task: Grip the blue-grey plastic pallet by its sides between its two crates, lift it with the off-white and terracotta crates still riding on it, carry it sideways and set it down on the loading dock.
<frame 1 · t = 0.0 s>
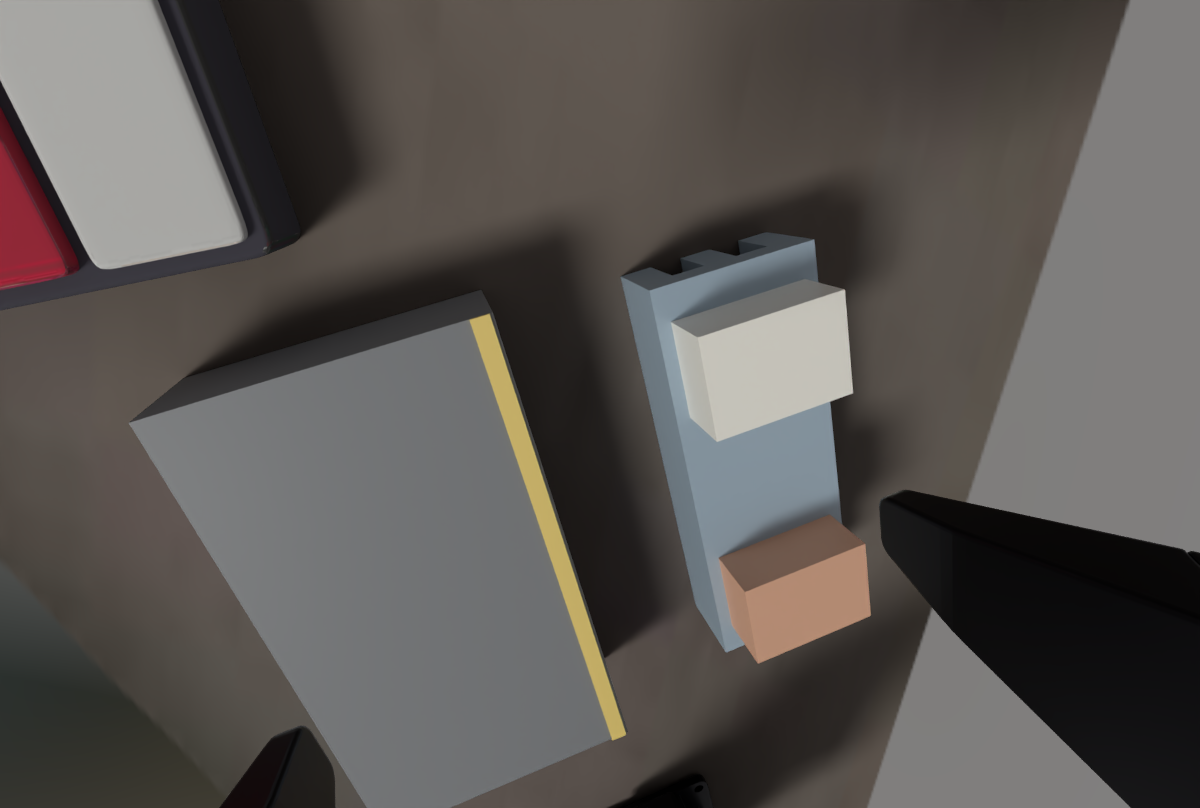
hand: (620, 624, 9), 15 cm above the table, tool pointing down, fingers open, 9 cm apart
terracotta crate: (780, 570, 25), point 3 cm above the table, touching pallet
white crate: (746, 349, 21), point 3 cm above the table, touching pallet
dock: (430, 545, 24), on the table
pallet: (724, 435, 26), on the table, touching terracotta crate, white crate
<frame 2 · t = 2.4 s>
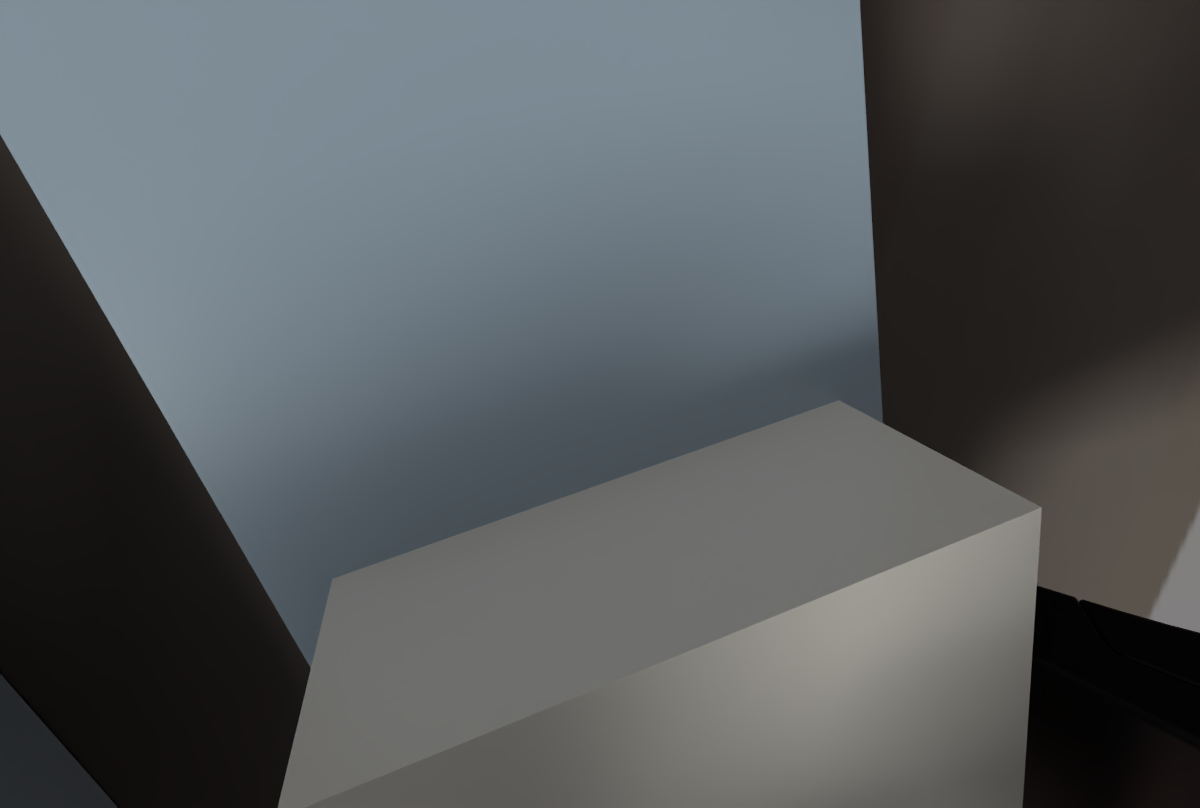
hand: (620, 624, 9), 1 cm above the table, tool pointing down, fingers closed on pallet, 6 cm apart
white crate: (642, 627, 6), point 3 cm above the table, touching pallet
pallet: (596, 569, 10), on the table, touching gripper, terracotta crate, white crate
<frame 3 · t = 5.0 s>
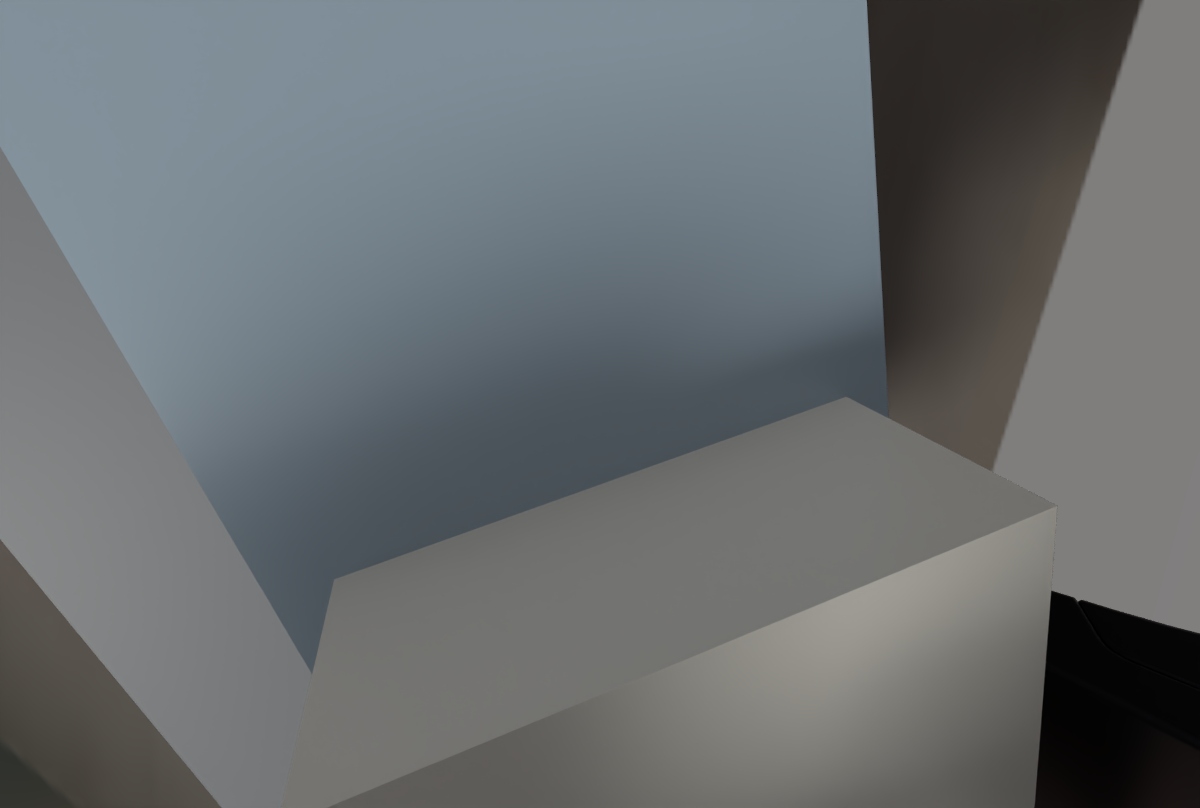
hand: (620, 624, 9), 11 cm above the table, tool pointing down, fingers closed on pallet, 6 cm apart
white crate: (647, 627, 6), point 13 cm above the table, touching pallet
dock: (310, 460, 18), on the table
pallet: (598, 568, 10), point 10 cm above the table, touching gripper, terracotta crate, white crate
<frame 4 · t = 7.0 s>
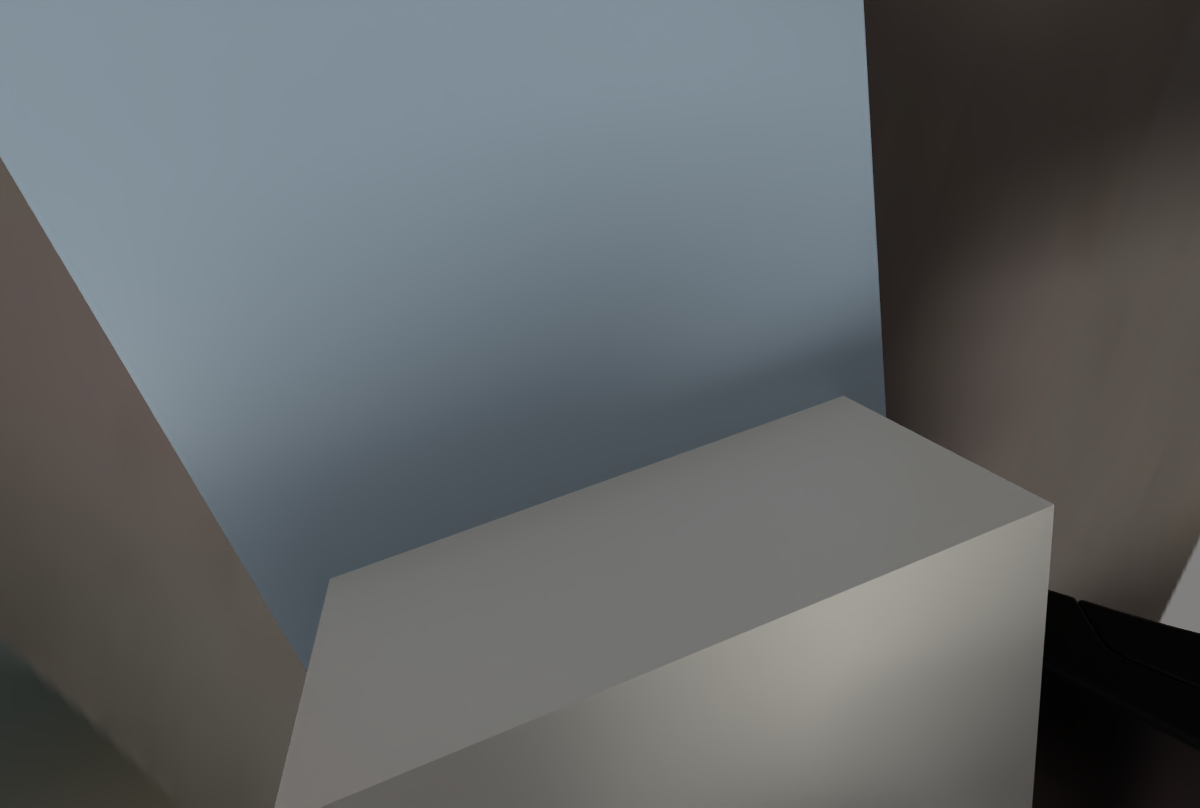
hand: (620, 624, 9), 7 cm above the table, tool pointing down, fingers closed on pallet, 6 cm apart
white crate: (644, 627, 6), point 9 cm above the table, touching pallet
pallet: (596, 568, 10), point 5 cm above the table, touching gripper, terracotta crate, white crate
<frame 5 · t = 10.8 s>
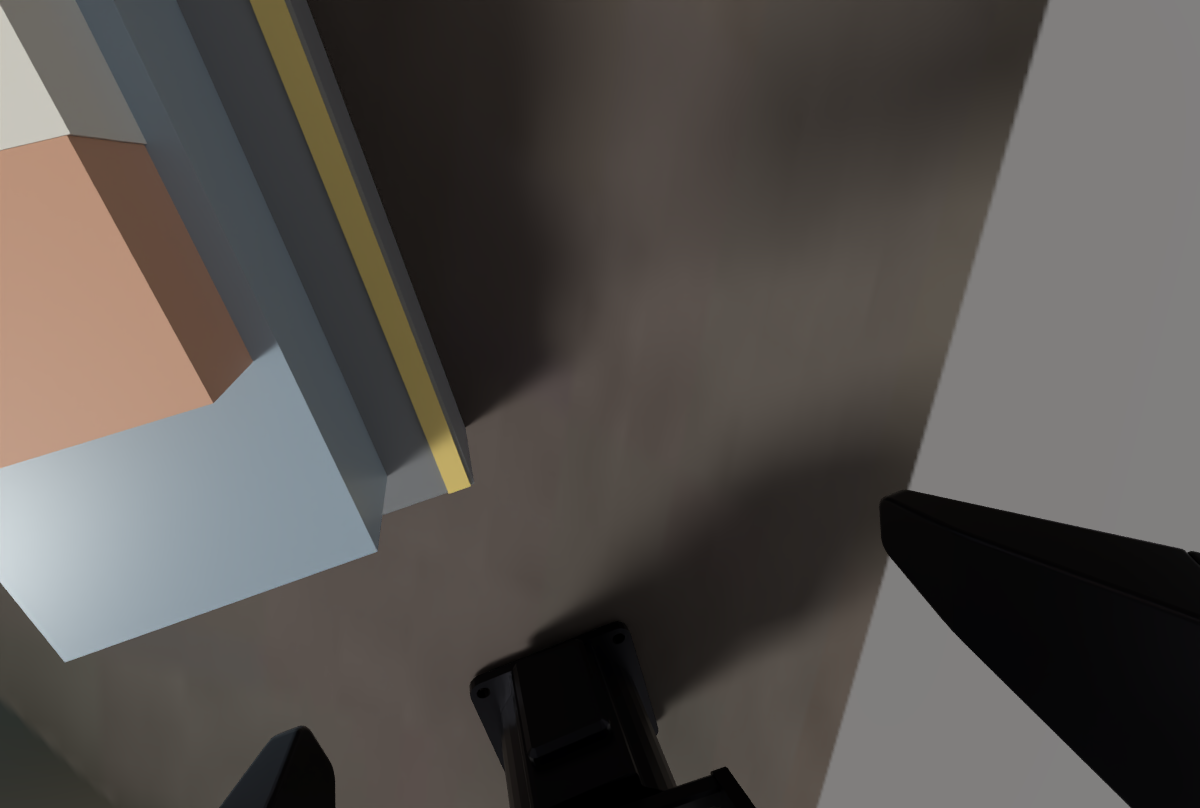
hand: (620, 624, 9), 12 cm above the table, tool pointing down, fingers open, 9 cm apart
terracotta crate: (38, 305, 10), point 7 cm above the table, touching pallet
dock: (164, 186, 16), on the table
pallet: (87, 187, 12), point 4 cm above the table, touching dock, terracotta crate, white crate
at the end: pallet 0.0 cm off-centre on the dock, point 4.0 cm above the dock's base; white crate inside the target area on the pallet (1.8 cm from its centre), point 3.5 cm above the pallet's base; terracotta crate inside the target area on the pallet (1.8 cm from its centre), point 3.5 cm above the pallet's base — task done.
